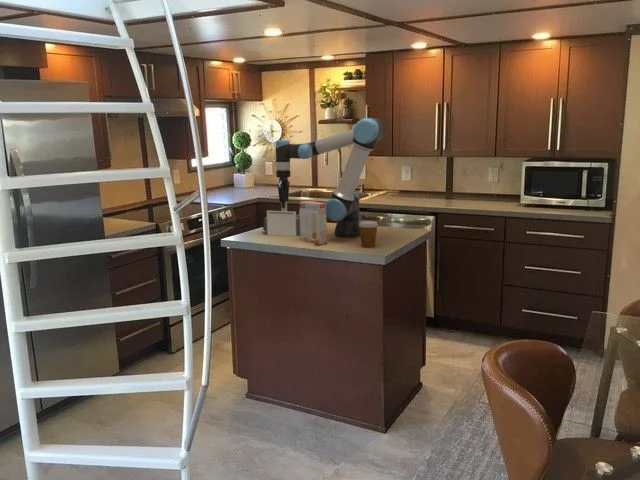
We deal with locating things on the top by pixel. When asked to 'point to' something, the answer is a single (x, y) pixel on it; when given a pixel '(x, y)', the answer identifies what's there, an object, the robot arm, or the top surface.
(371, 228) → the disposable coffee cup
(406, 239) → the top surface
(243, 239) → the top surface
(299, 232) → the block
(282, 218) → the side door
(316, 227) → the cracker box
